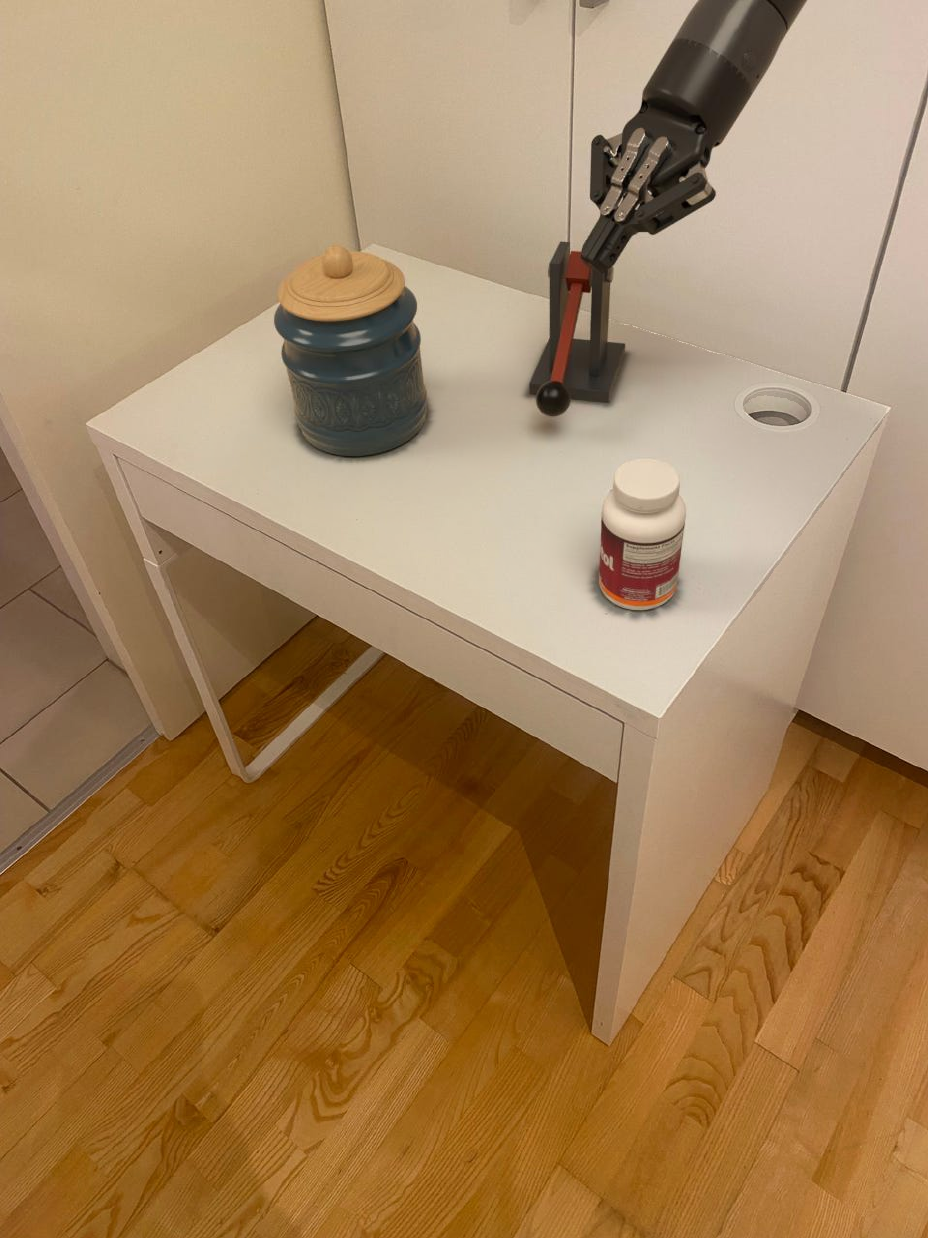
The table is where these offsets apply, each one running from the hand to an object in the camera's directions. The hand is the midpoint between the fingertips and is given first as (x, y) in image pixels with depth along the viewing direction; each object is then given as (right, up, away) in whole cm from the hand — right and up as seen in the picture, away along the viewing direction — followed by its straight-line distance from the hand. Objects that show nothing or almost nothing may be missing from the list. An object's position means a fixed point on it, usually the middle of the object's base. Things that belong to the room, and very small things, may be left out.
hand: (591, 266), depth 79 cm
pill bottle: (+3, -27, -3) cm, 27 cm away
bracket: (+1, -4, +19) cm, 19 cm away
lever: (-1, -3, +11) cm, 11 cm away
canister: (-20, -10, +16) cm, 27 cm away
